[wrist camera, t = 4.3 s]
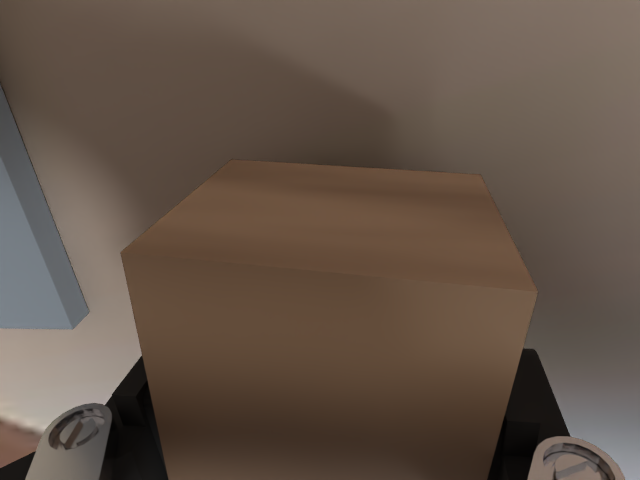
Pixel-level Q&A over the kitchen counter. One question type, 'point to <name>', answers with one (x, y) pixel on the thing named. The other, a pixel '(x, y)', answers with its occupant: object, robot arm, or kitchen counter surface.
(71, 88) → the kitchen counter surface
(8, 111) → the board
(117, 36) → the kitchen counter surface
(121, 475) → the robot arm
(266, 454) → the walnut block
